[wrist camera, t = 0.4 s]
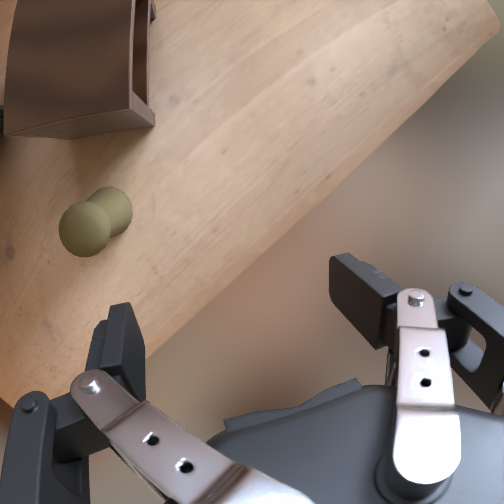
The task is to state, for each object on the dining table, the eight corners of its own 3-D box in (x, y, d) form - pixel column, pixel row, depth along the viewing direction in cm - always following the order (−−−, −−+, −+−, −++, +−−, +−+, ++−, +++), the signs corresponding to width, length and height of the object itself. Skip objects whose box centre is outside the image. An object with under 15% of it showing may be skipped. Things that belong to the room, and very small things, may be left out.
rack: (73, 24, 27) (24, -27, 13) (156, 8, 29) (140, -59, 15) (69, 139, 32) (3, 135, 18) (155, 126, 34) (129, 108, 19)
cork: (96, 179, 34) (61, 189, 24) (140, 199, 36) (119, 216, 25) (79, 224, 35) (42, 250, 25) (121, 244, 37) (97, 276, 27)
